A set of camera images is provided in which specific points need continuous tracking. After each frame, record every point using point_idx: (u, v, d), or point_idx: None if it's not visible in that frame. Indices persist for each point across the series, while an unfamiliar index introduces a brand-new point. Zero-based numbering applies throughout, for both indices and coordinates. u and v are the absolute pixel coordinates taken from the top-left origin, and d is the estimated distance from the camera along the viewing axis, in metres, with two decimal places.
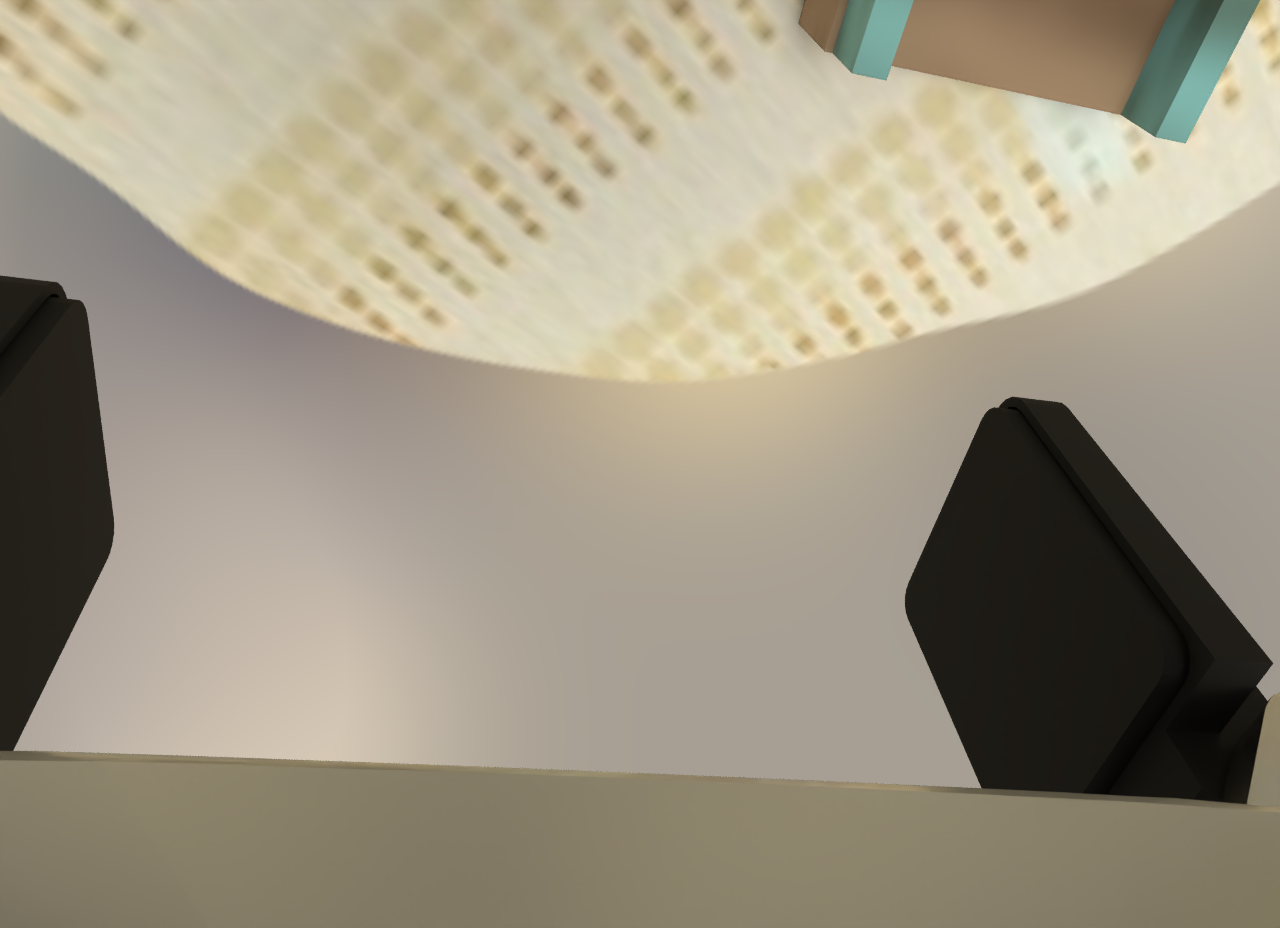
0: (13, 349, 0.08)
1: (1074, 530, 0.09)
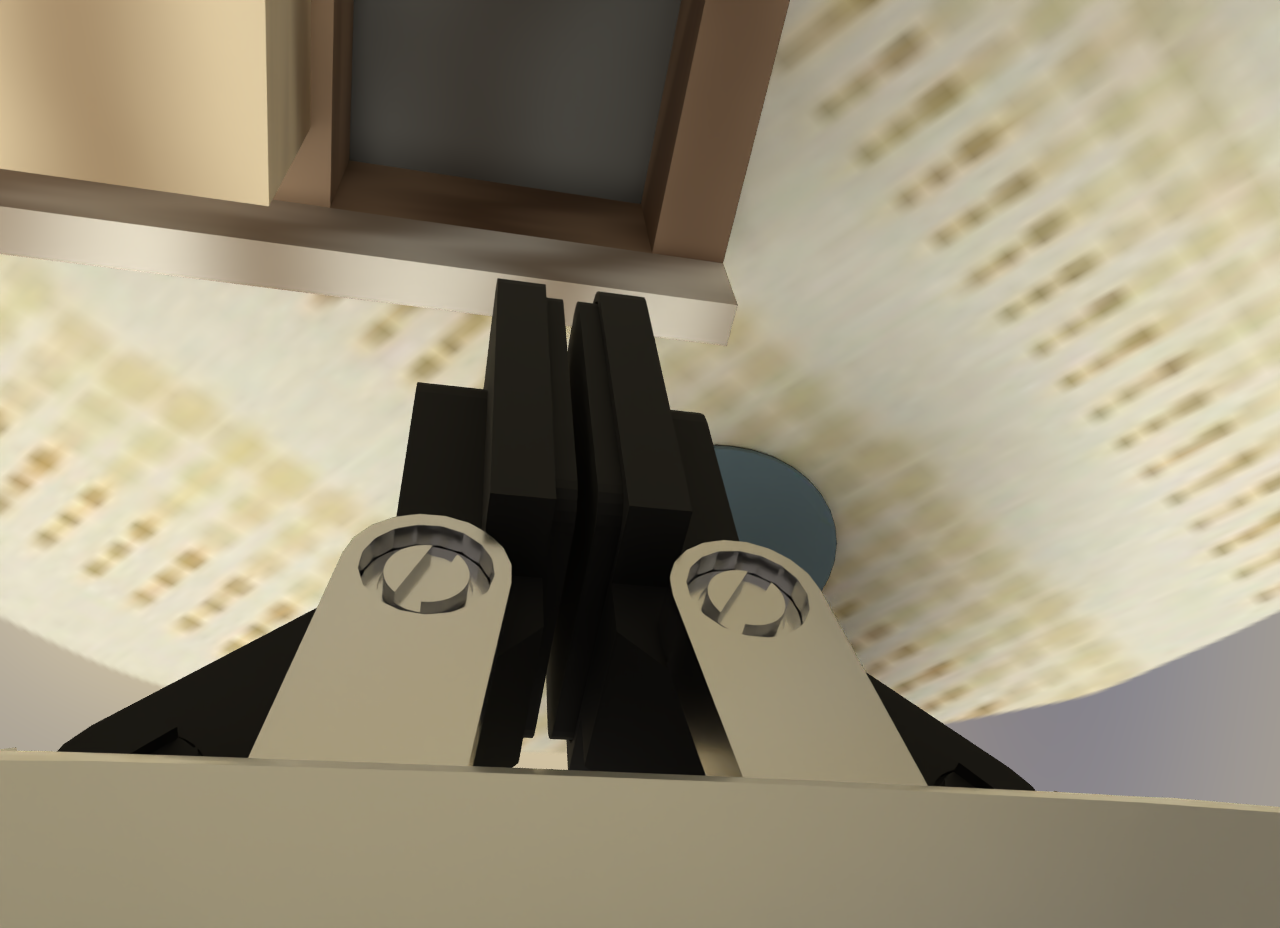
0: (552, 339, 0.10)
1: (585, 404, 0.09)
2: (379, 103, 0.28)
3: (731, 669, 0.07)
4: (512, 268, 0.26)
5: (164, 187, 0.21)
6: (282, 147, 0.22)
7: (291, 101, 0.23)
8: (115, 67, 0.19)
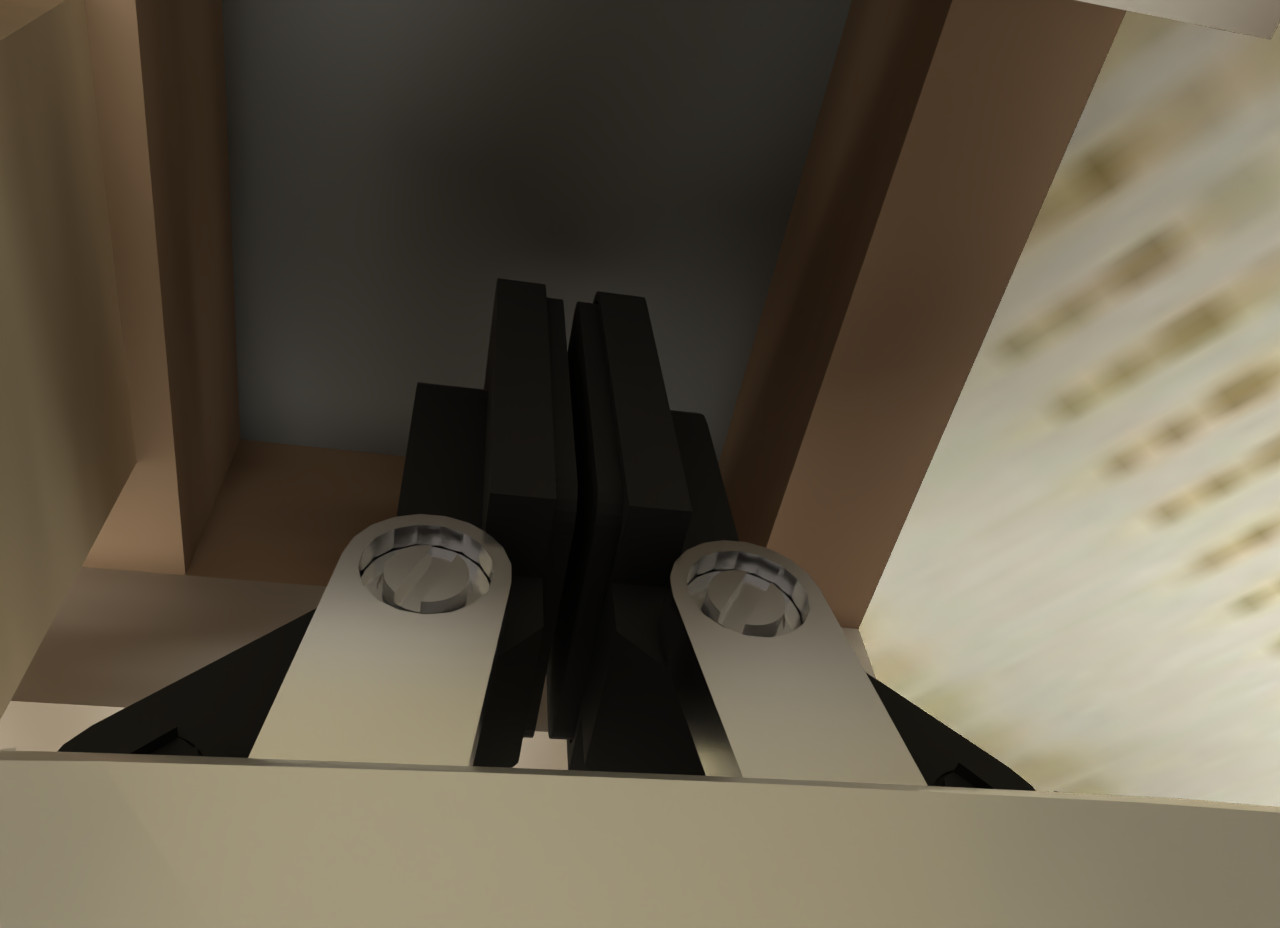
0: (551, 339, 0.10)
1: (585, 404, 0.09)
2: (285, 358, 0.17)
3: (730, 669, 0.07)
4: None
5: None
6: (23, 606, 0.11)
7: (54, 492, 0.11)
8: None
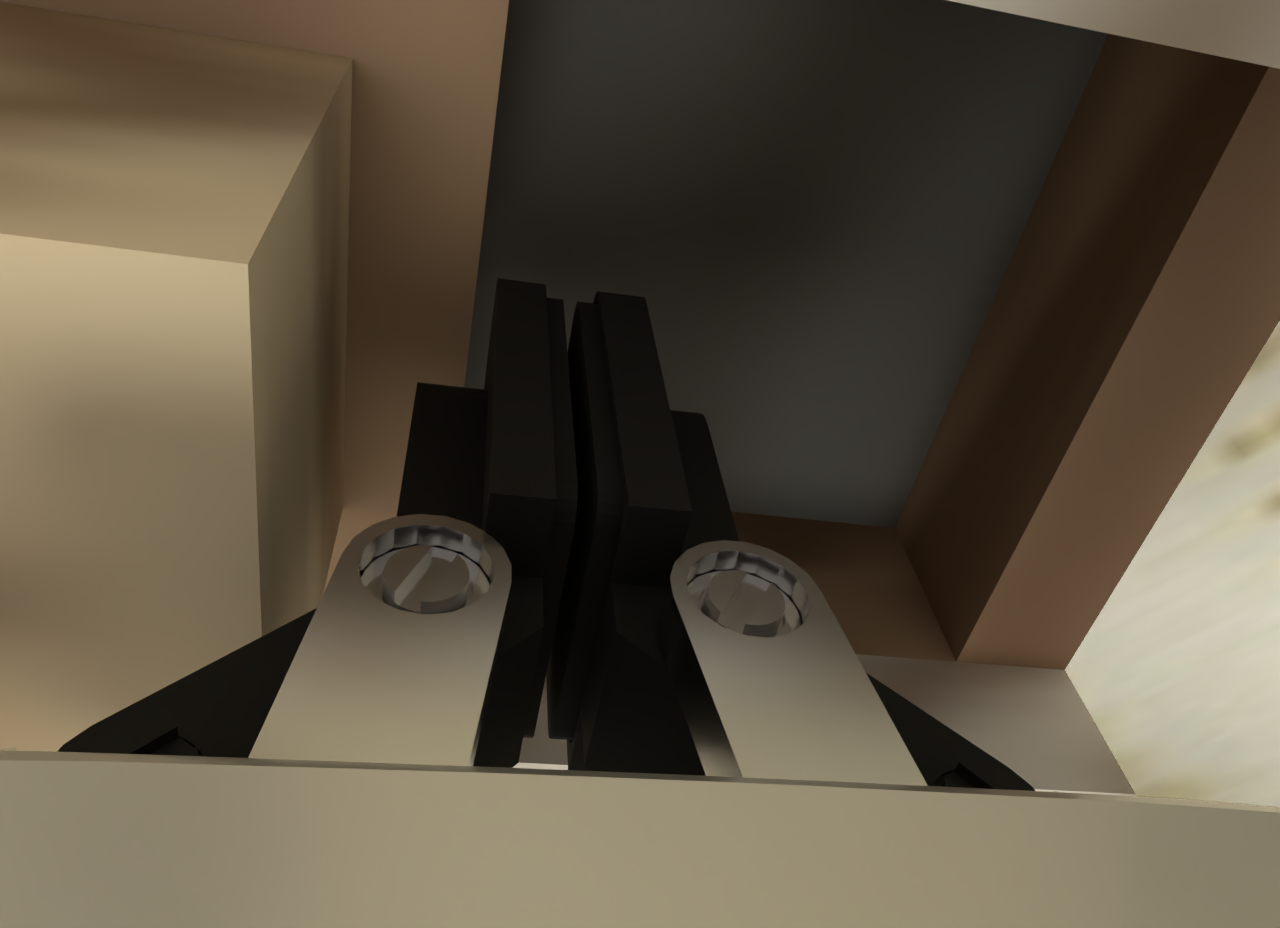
0: (552, 339, 0.10)
1: (585, 404, 0.09)
2: None
3: (731, 669, 0.07)
4: None
5: None
6: None
7: (312, 548, 0.11)
8: None
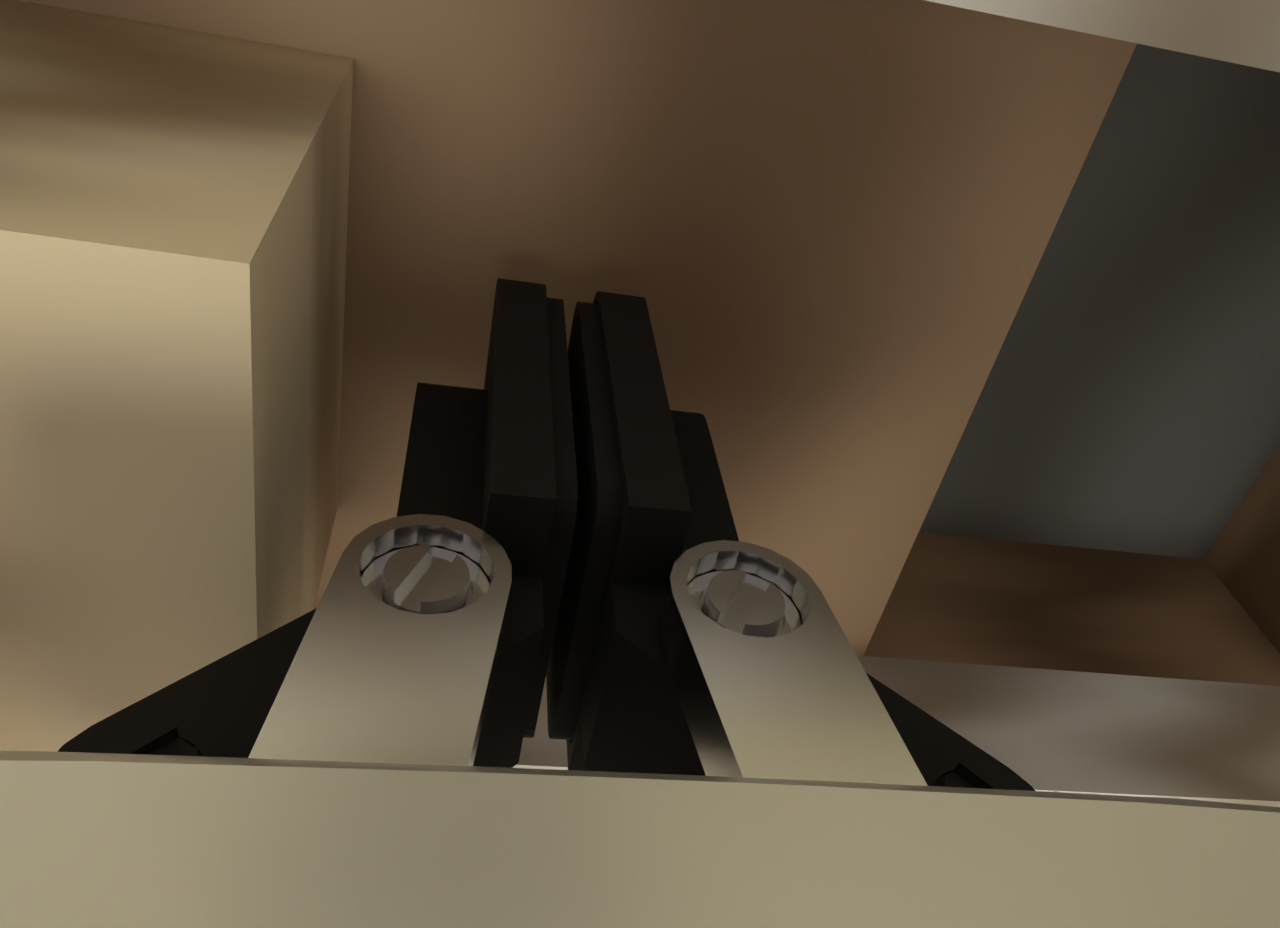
0: (551, 339, 0.10)
1: (585, 404, 0.09)
2: None
3: (731, 669, 0.07)
4: (1184, 778, 0.16)
5: None
6: None
7: (307, 548, 0.11)
8: None
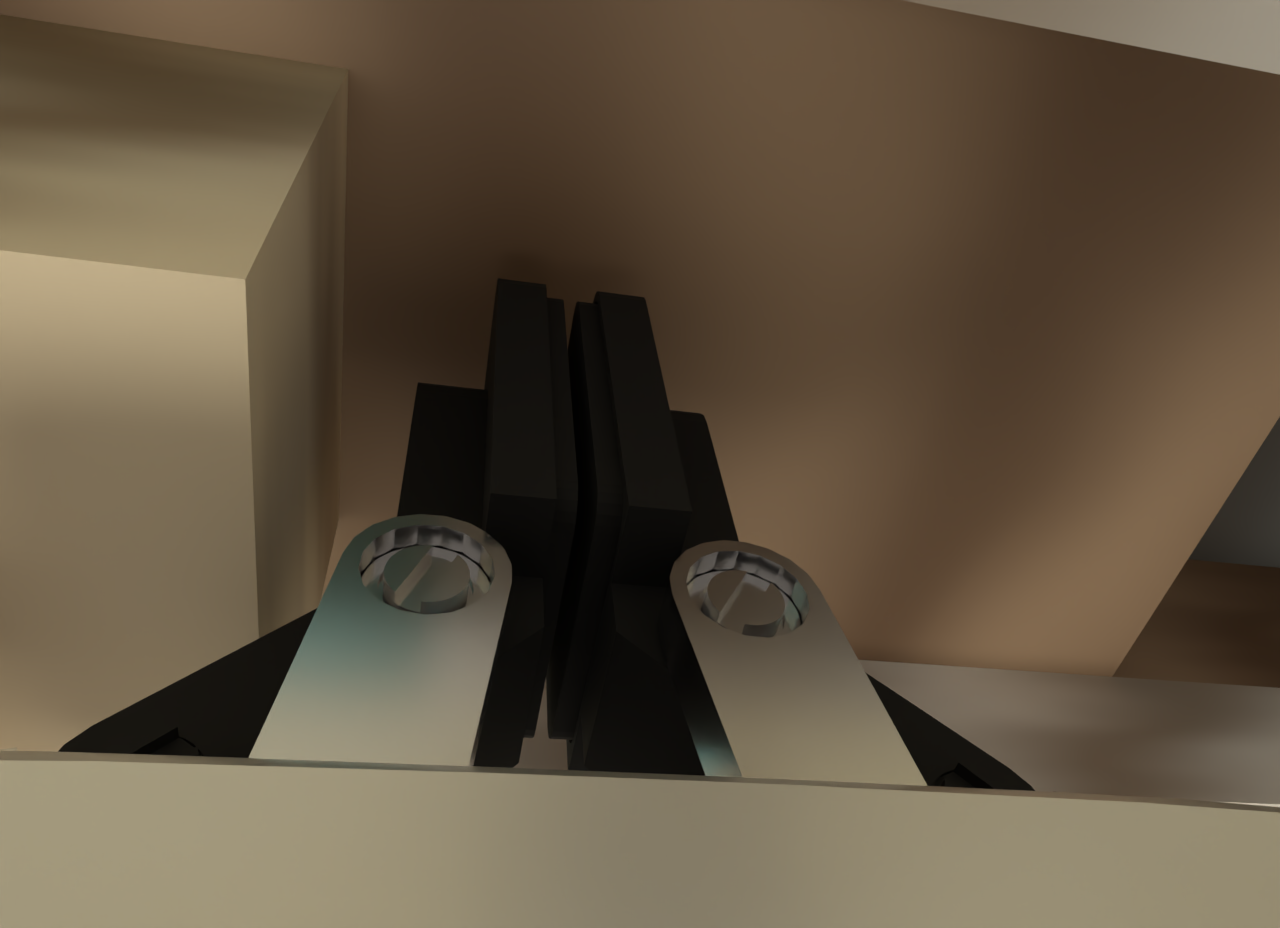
0: (552, 339, 0.10)
1: (585, 404, 0.09)
2: None
3: (731, 669, 0.07)
4: None
5: None
6: None
7: (309, 559, 0.11)
8: None
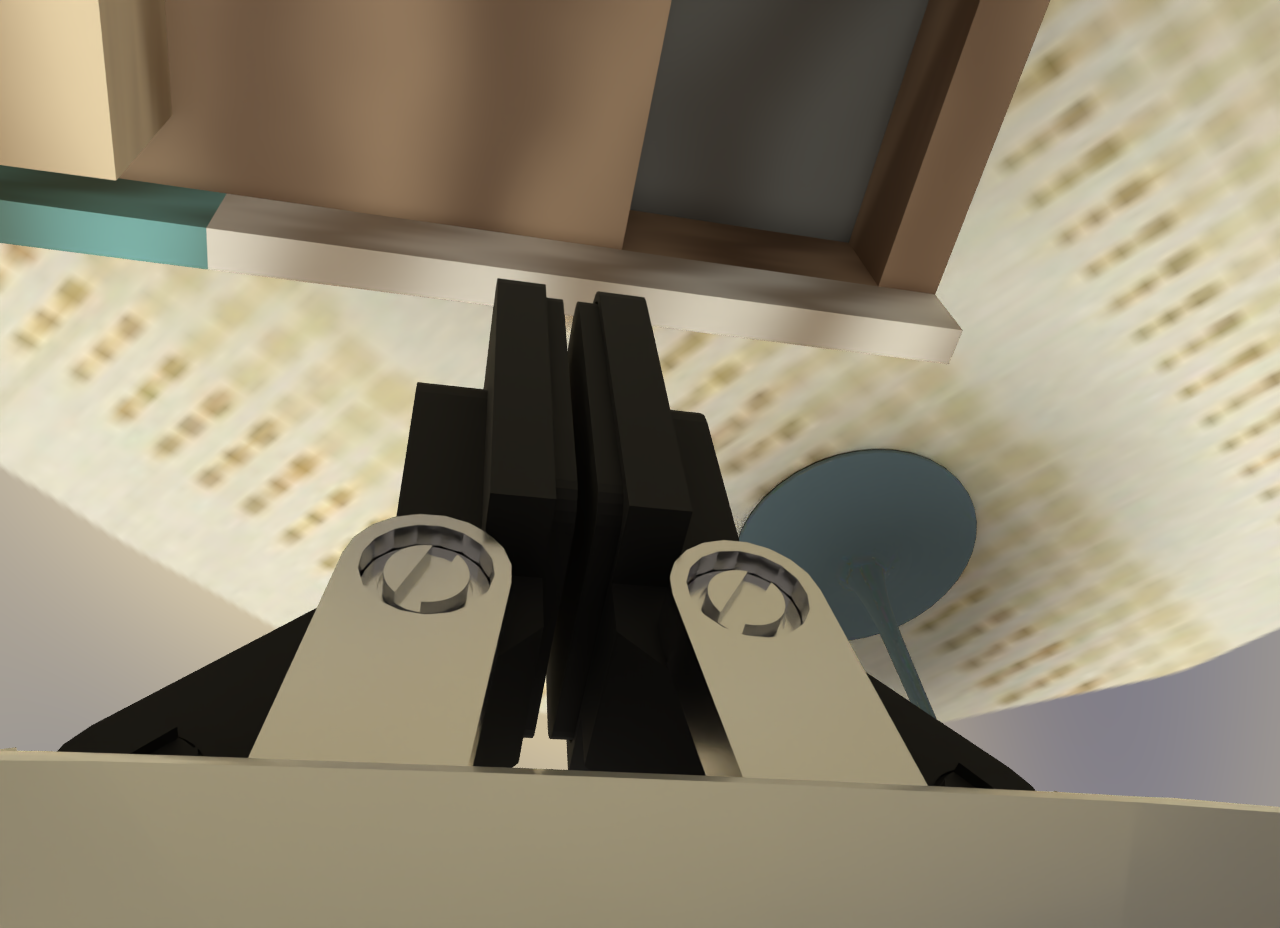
0: (551, 340, 0.10)
1: (585, 404, 0.09)
2: (644, 159, 0.34)
3: (731, 669, 0.07)
4: (782, 301, 0.31)
5: (19, 163, 0.23)
6: (131, 129, 0.25)
7: (142, 88, 0.25)
8: None
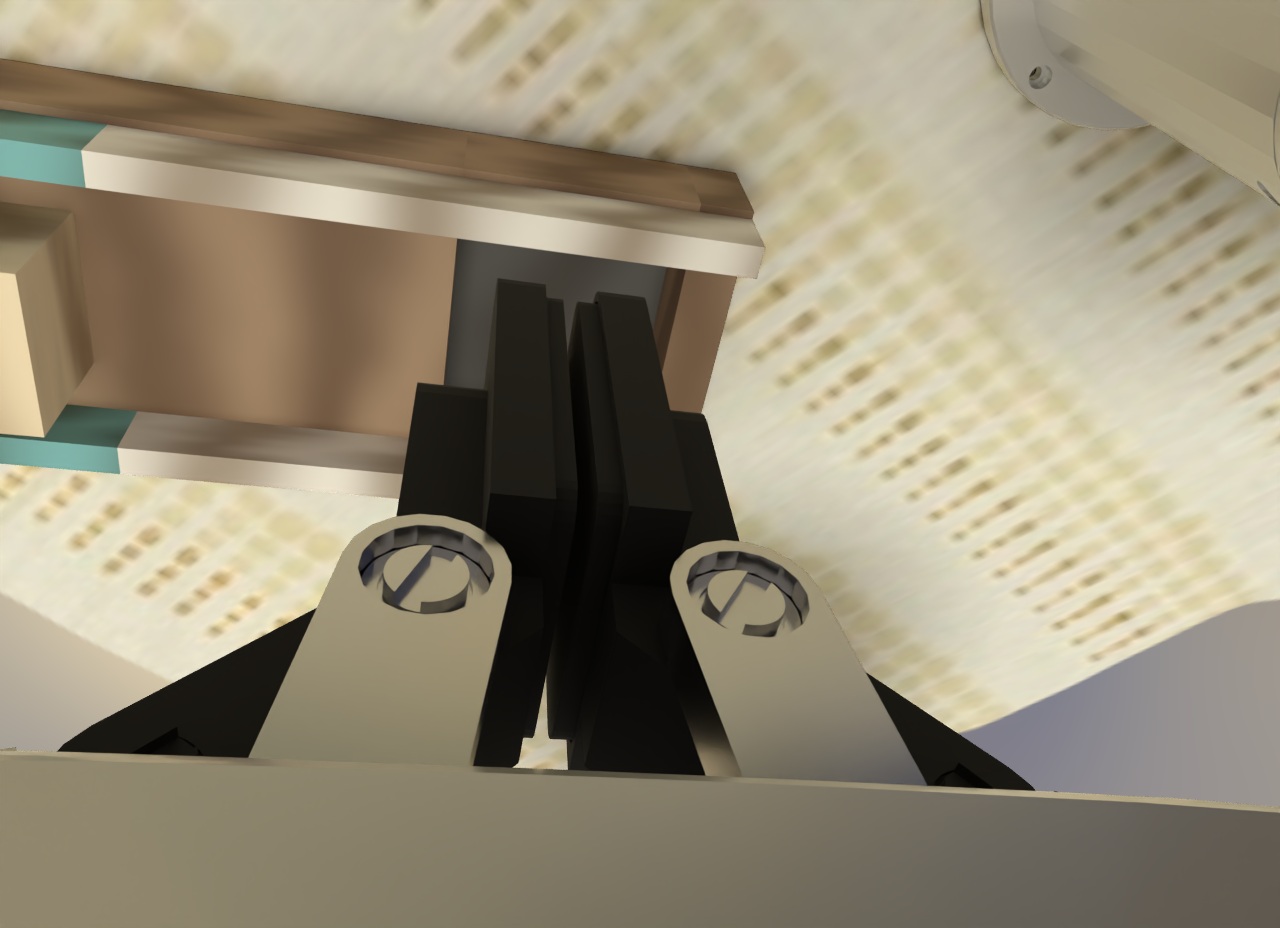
0: (552, 339, 0.10)
1: (585, 404, 0.09)
2: (464, 363, 0.44)
3: (730, 669, 0.07)
4: None
5: None
6: (57, 395, 0.35)
7: (65, 363, 0.36)
8: None
